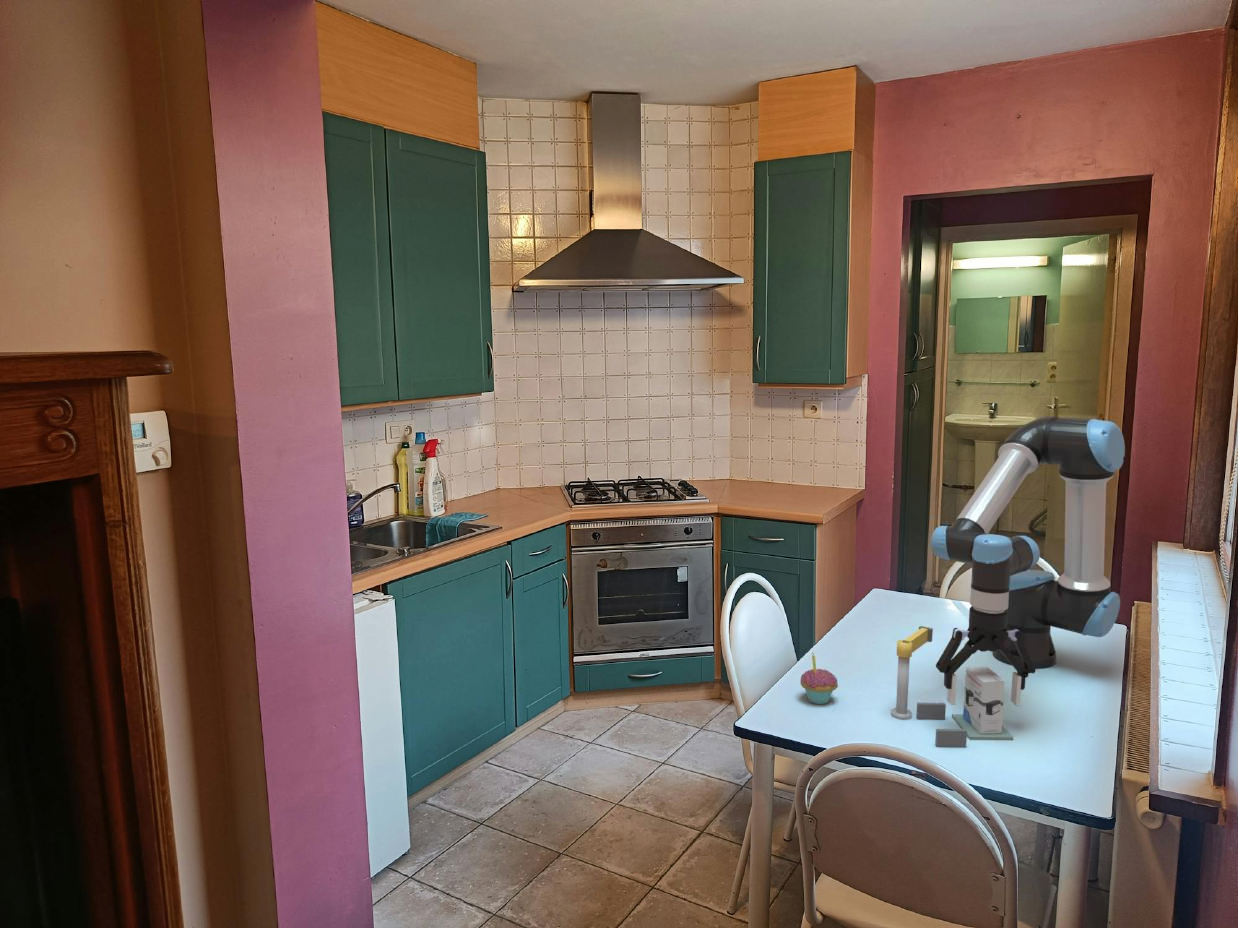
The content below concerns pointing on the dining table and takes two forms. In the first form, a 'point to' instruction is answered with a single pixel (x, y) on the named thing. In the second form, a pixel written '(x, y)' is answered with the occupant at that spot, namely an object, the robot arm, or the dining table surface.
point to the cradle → (924, 710)
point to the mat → (975, 735)
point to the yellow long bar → (914, 642)
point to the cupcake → (818, 684)
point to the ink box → (984, 700)
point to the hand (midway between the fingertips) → (983, 702)
